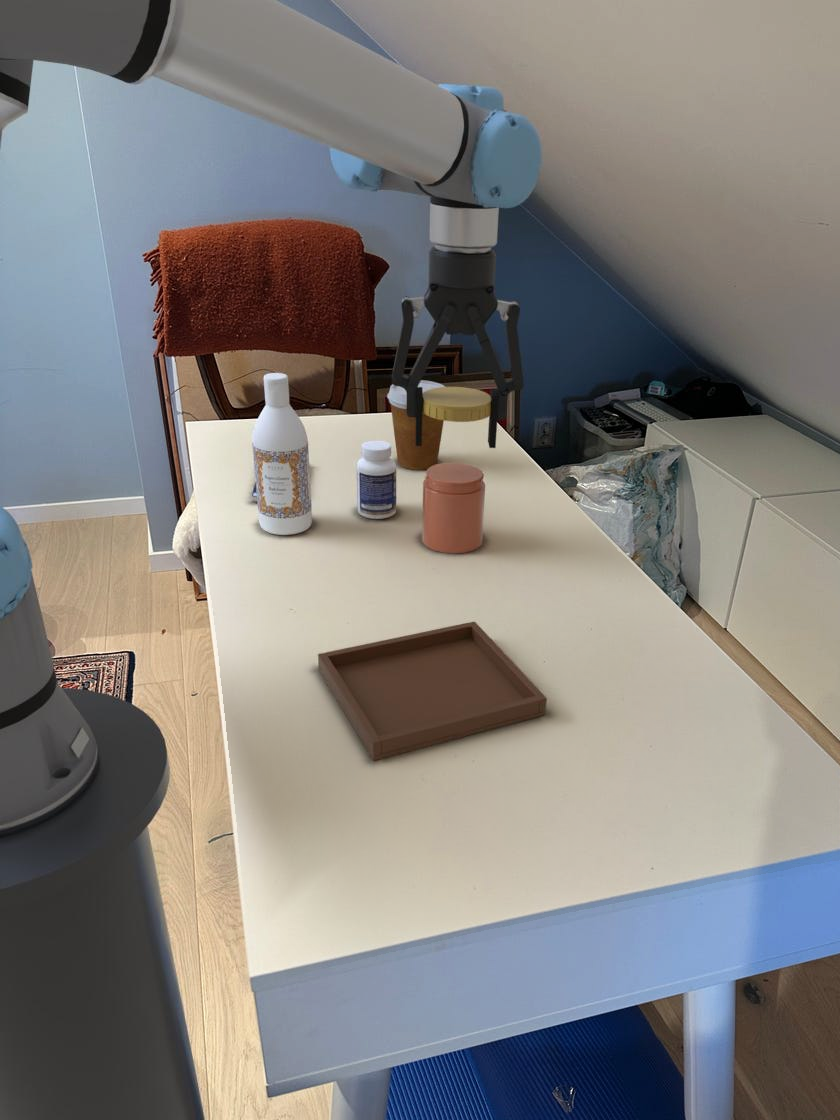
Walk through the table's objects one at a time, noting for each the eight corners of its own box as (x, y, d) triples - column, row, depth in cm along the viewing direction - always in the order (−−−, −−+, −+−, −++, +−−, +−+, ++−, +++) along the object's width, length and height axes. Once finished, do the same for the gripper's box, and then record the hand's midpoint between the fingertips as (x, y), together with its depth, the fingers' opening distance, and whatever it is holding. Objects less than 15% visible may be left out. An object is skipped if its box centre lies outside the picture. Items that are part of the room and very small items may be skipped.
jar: (436, 557, 114) (438, 487, 109) (412, 532, 120) (413, 465, 115) (492, 548, 117) (496, 479, 112) (466, 524, 123) (469, 458, 118)
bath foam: (253, 534, 117) (239, 381, 106) (266, 513, 123) (254, 366, 112) (306, 538, 117) (297, 385, 106) (316, 516, 123) (309, 370, 112)
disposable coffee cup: (375, 460, 142) (374, 385, 136) (421, 448, 148) (422, 376, 142) (413, 478, 136) (413, 400, 130) (459, 465, 142) (462, 390, 136)
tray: (373, 760, 79) (373, 743, 78) (318, 670, 90) (317, 653, 89) (545, 715, 86) (547, 698, 85) (473, 636, 98) (474, 621, 97)
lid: (420, 399, 112) (421, 385, 112) (488, 401, 113) (489, 387, 112) (421, 421, 105) (422, 405, 104) (494, 423, 106) (495, 408, 105)
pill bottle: (402, 516, 124) (402, 449, 119) (366, 522, 122) (364, 453, 117) (387, 502, 128) (387, 436, 123) (352, 507, 126) (350, 440, 121)
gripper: (552, 246, 104) (535, 436, 115) (368, 238, 102) (370, 431, 114) (561, 256, 97) (543, 456, 109) (365, 247, 95) (368, 451, 107)
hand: (455, 443), depth 111 cm, fingers closed on lid, 8 cm apart
